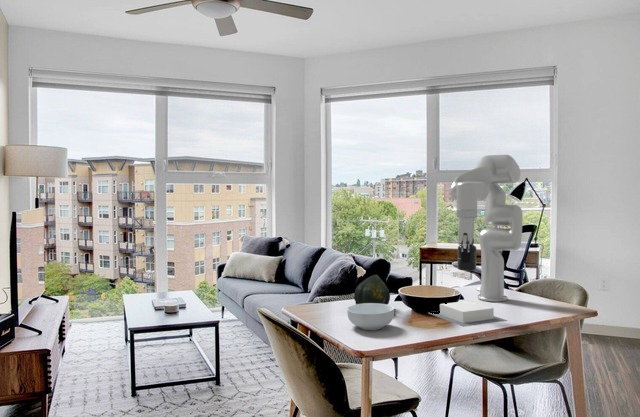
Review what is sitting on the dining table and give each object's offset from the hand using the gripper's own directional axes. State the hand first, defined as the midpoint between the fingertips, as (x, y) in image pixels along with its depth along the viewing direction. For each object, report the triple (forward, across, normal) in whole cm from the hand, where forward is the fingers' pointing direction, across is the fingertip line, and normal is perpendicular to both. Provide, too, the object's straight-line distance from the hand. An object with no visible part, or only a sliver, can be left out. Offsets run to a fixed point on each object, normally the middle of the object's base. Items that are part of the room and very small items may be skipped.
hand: (466, 261), depth 194 cm
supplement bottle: (+4, 0, 0) cm, 4 cm away
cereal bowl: (+22, +25, -31) cm, 45 cm away
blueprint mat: (+22, 0, 0) cm, 22 cm away
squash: (+22, -1, -38) cm, 44 cm away
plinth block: (+21, 0, 0) cm, 21 cm away
